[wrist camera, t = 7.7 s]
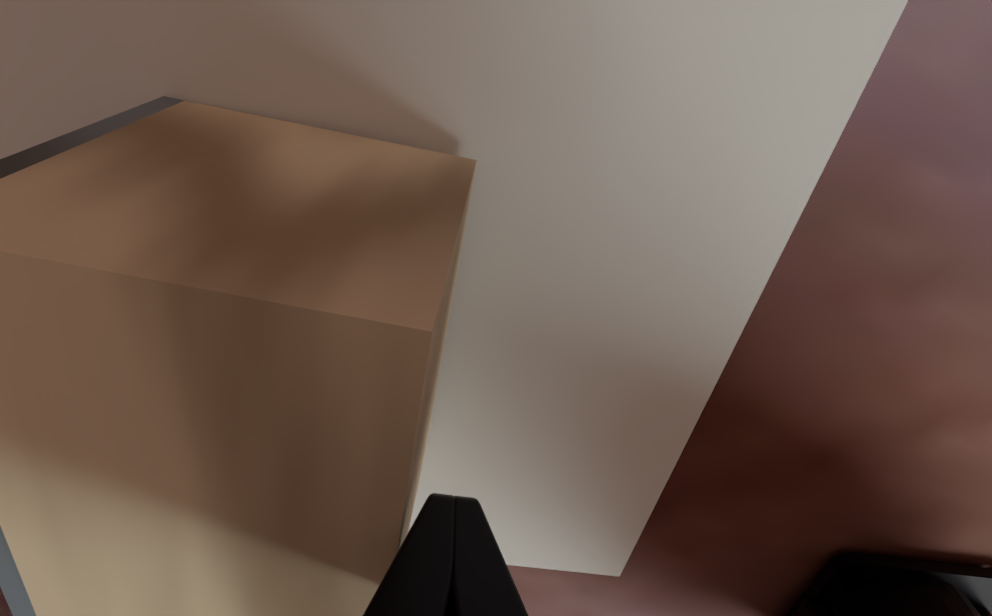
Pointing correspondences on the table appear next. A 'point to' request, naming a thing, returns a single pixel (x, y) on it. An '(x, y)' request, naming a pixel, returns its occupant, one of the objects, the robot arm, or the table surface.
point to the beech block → (217, 361)
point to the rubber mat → (525, 198)
